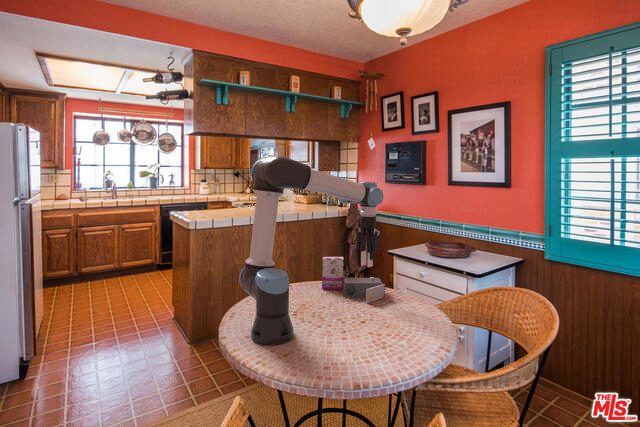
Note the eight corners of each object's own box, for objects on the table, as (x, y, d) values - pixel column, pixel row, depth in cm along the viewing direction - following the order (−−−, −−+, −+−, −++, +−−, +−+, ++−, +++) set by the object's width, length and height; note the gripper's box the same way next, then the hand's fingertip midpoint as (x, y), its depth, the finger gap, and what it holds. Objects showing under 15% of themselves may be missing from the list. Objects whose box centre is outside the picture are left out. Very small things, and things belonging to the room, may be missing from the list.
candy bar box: (343, 287, 187) (344, 256, 186) (343, 290, 182) (344, 258, 181) (322, 286, 188) (322, 256, 186) (321, 289, 183) (322, 258, 181)
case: (345, 298, 170) (345, 282, 169) (343, 291, 181) (343, 276, 180) (382, 298, 171) (383, 282, 170) (378, 291, 181) (379, 276, 180)
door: (368, 304, 162) (369, 289, 162) (365, 302, 164) (365, 288, 163) (386, 298, 171) (387, 284, 170) (383, 297, 172) (383, 283, 171)
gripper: (349, 214, 168) (348, 263, 170) (376, 217, 155) (375, 270, 158) (360, 213, 172) (359, 261, 175) (387, 216, 160) (385, 268, 162)
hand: (366, 265), depth 166 cm, fingers open, 3 cm apart
